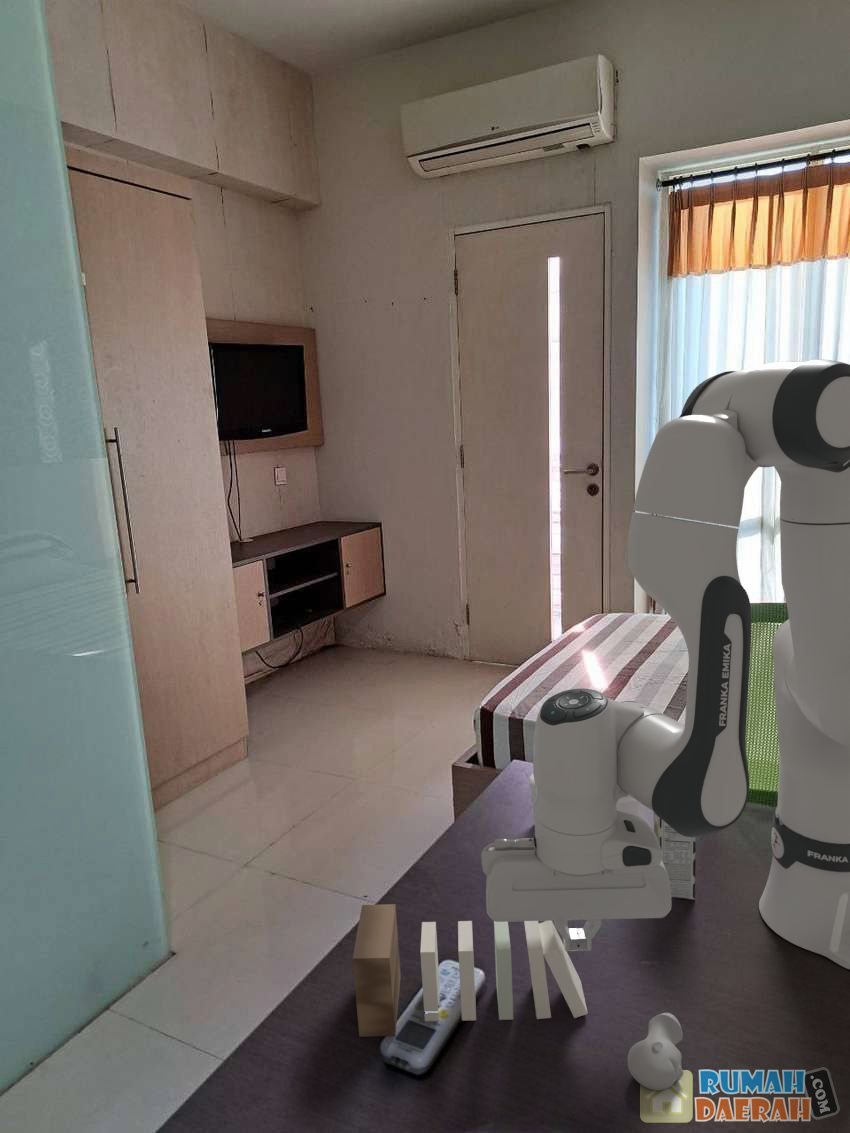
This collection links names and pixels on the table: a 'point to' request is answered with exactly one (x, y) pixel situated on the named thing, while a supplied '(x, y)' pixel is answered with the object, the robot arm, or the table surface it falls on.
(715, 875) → the table surface
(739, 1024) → the table surface
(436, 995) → the domino
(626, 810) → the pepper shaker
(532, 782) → the milkshake
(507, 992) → the domino
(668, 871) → the candy bar box
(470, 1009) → the domino
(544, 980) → the domino
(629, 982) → the table surface
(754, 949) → the table surface
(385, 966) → the end block
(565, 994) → the domino
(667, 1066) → the smooth white sculpture
